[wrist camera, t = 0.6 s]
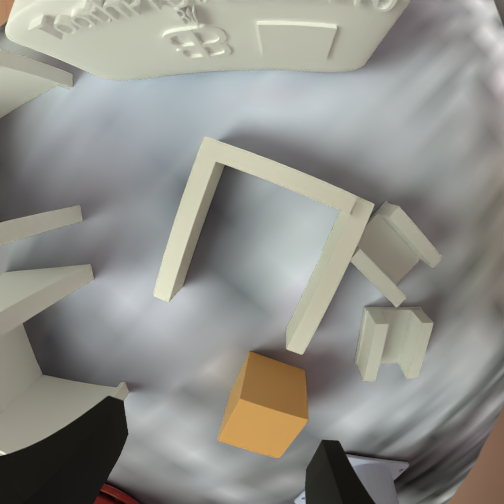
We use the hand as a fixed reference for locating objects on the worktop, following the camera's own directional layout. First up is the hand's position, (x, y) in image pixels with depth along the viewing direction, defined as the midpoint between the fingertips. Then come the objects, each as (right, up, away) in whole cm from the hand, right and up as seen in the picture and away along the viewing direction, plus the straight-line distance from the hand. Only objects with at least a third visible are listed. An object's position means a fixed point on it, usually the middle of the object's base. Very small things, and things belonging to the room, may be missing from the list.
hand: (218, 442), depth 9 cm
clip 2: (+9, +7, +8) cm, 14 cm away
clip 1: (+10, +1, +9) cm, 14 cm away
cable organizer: (0, +22, +6) cm, 22 cm away
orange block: (+2, -2, +11) cm, 11 cm away
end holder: (+2, +7, +8) cm, 11 cm away
